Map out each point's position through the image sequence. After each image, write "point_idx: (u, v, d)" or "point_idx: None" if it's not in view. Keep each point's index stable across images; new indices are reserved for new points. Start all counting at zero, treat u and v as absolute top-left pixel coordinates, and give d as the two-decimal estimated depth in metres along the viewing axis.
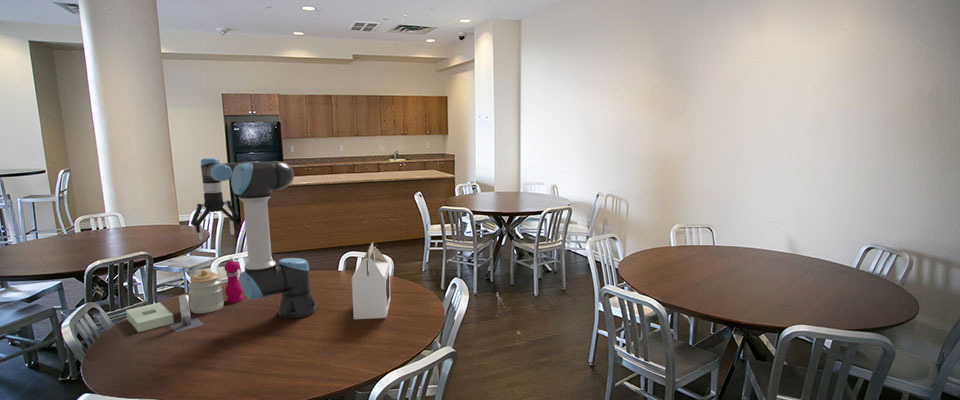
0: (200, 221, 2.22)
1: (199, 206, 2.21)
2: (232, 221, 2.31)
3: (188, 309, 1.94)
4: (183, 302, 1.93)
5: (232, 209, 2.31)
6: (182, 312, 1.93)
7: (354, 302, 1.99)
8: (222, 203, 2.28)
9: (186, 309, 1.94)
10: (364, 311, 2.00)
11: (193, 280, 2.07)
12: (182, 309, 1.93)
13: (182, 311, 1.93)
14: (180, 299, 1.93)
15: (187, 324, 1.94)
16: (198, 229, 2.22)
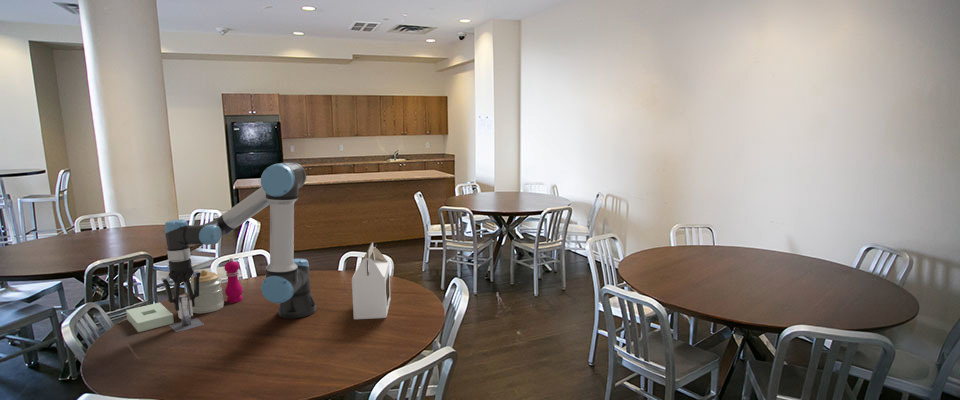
0: (177, 297, 1.91)
1: (165, 282, 1.88)
2: (190, 300, 1.95)
3: (188, 309, 1.94)
4: (183, 302, 1.93)
5: (197, 283, 1.96)
6: (182, 312, 1.93)
7: (354, 302, 1.99)
8: (191, 272, 1.94)
9: (186, 309, 1.94)
10: (364, 311, 2.00)
11: (193, 280, 2.07)
12: (182, 309, 1.93)
13: (182, 311, 1.93)
14: (180, 299, 1.93)
15: (187, 324, 1.94)
16: (177, 307, 1.92)
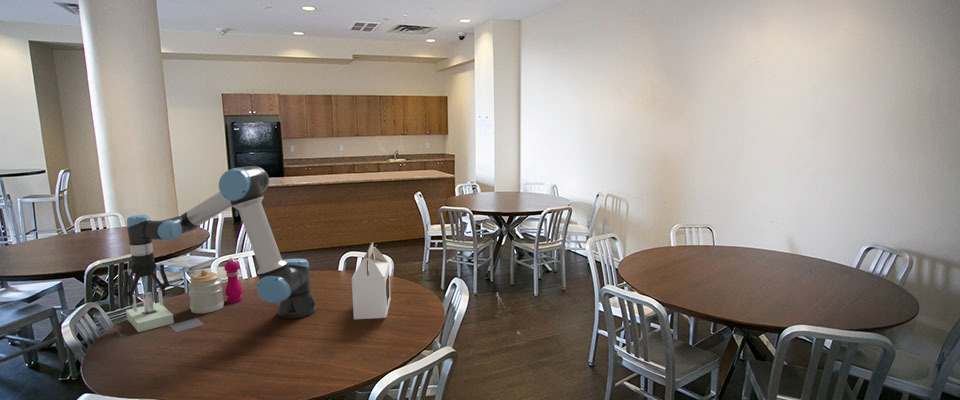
0: (132, 290, 1.94)
1: (125, 274, 1.92)
2: (160, 290, 2.01)
3: (151, 306, 1.99)
4: (146, 299, 1.97)
5: (163, 275, 2.01)
6: (145, 309, 1.98)
7: (354, 302, 1.99)
8: (153, 266, 1.99)
9: (149, 306, 1.98)
10: (364, 311, 2.00)
11: (193, 280, 2.07)
12: (145, 306, 1.98)
13: (145, 308, 1.98)
14: (143, 296, 1.97)
15: None
16: (131, 300, 1.94)
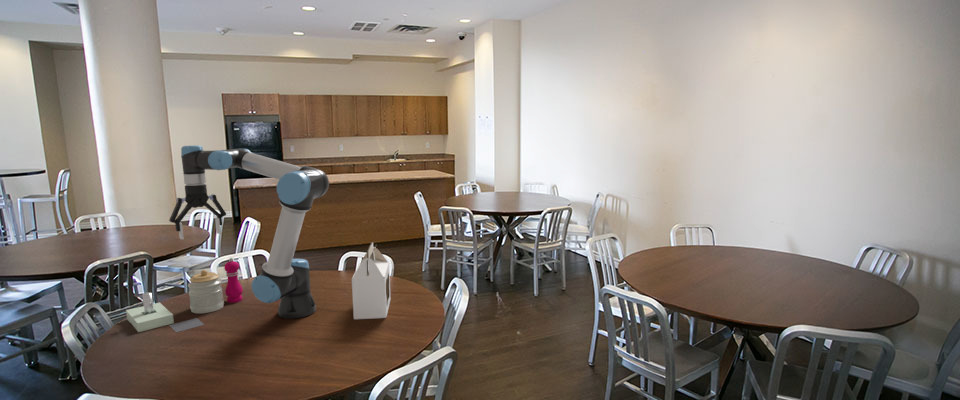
0: (180, 218, 1.92)
1: (179, 201, 1.91)
2: (218, 218, 2.02)
3: (151, 306, 1.99)
4: (146, 299, 1.97)
5: (218, 204, 2.02)
6: (145, 309, 1.98)
7: (354, 302, 1.99)
8: (206, 197, 1.98)
9: (149, 306, 1.98)
10: (364, 311, 2.00)
11: (193, 280, 2.07)
12: (145, 306, 1.98)
13: (145, 308, 1.98)
14: (143, 296, 1.97)
15: None
16: (178, 227, 1.92)
